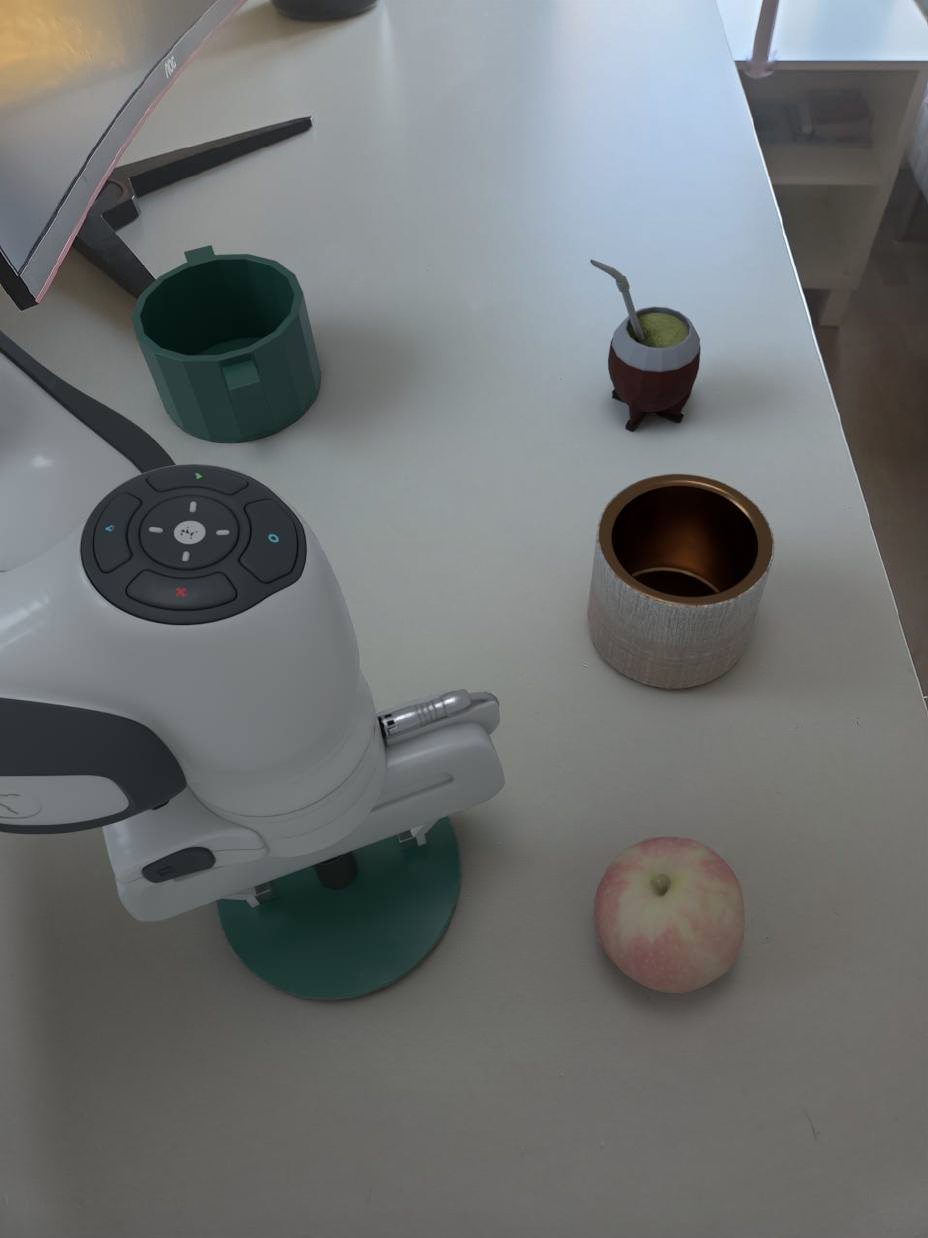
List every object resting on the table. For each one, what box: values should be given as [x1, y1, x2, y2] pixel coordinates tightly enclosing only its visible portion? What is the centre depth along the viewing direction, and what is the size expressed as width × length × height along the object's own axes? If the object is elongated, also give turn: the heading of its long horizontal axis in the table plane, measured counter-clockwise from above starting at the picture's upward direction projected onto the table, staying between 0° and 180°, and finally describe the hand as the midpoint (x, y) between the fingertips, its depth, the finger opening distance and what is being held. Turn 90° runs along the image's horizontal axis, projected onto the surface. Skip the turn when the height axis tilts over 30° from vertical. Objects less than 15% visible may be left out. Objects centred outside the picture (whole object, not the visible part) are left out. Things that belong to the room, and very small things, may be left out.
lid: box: [215, 816, 462, 1001], centre depth 55 cm, size 14×14×5 cm
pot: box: [130, 244, 322, 444], centre depth 79 cm, size 13×19×8 cm
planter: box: [587, 473, 775, 689], centre depth 62 cm, size 11×11×10 cm
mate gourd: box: [589, 259, 702, 432], centre depth 73 cm, size 8×8×15 cm
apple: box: [593, 836, 746, 994], centre depth 51 cm, size 8×8×8 cm
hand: (337, 863), depth 56 cm, fingers open, 8 cm apart
